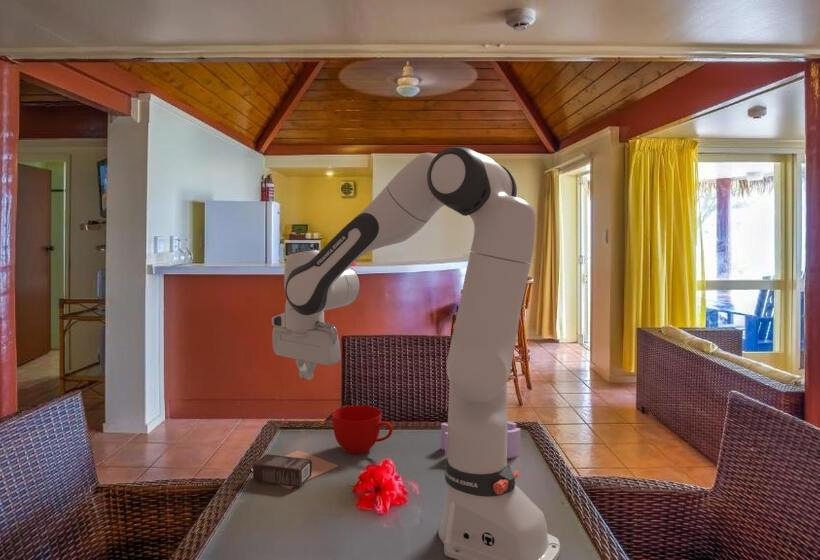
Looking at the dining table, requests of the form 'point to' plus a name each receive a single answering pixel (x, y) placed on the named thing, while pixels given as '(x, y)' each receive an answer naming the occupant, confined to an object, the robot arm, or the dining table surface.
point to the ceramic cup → (358, 428)
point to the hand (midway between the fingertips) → (306, 378)
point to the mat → (317, 465)
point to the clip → (512, 439)
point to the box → (282, 470)
